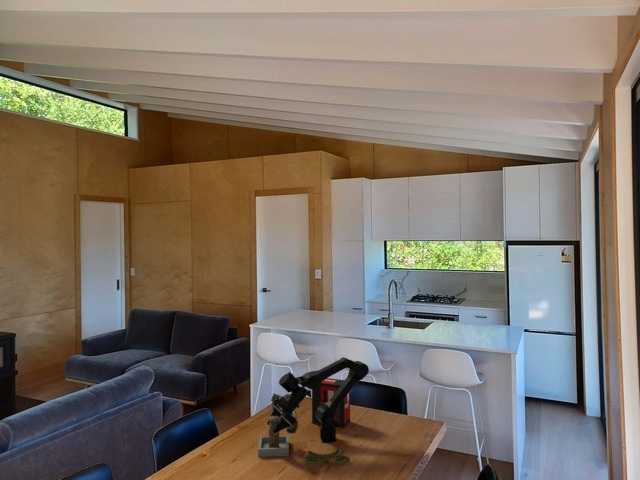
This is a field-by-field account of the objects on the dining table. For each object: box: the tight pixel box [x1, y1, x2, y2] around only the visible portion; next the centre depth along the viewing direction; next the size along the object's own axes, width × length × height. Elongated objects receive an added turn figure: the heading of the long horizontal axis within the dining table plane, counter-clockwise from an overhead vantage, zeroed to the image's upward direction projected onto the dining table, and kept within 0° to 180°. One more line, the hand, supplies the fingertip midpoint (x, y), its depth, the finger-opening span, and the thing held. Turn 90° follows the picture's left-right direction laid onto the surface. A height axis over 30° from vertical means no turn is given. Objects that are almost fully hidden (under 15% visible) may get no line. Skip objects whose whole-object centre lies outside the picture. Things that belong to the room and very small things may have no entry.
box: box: [257, 435, 290, 458], centre depth 189 cm, size 12×12×3 cm
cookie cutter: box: [303, 447, 351, 468], centre depth 180 cm, size 18×12×2 cm, turn 100°
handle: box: [268, 415, 280, 448], centre depth 189 cm, size 5×5×12 cm
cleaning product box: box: [311, 377, 351, 429], centre depth 218 cm, size 16×9×20 cm, turn 67°
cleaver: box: [281, 409, 297, 433], centre depth 221 cm, size 29×10×2 cm, turn 7°
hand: (270, 428), depth 189 cm, fingers open, 9 cm apart
